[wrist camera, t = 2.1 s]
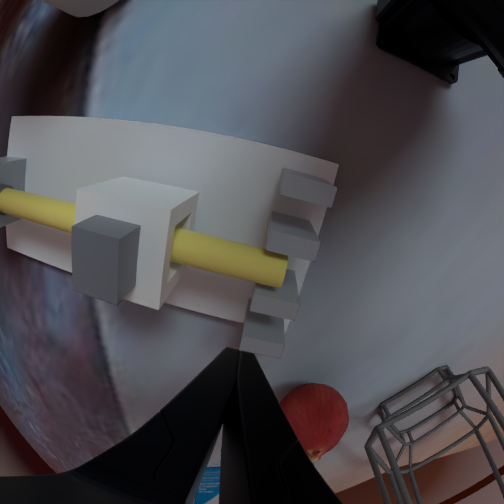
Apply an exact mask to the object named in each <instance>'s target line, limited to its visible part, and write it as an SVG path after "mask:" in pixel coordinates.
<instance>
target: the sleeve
mask: <svg viewBox="0 0 504 504" xmlns="http://www.w3.org/2000/svg"><path fill="white" fill-rule="evenodd" d="M199 193H200V192H197V191H193V190H188V189H184V188H179V187H174V186H169V185H164V184H159V183H155V182H149V181H144V180H139V179H134V178H129V177H120V178H116V179H112V180H108V181H104V182H101V183H97V184H93V185H89V186H86V187H82V188H79V189H77V194H76V210H75V225H73V226H72V234H71V254H72V282H73V290H75V291H77V292H80V293H83V294H85V295H88V296H91V297H94V298H96V299H99V300H102V301H105V302H108V303H111V304H113V305H116V306H118V305H119V303H120V302H121V301H122V300H123V299H124V300H127V301H131V302H134V303H137V304H140V305H143V306H146V307H150V308H153V309H156V310H159V309H160V308H161V306H162V305H163V303H164V302H165V300H166V299H167V297H168V296H169V294H170V293H171V291H172V290H173V288H174V287H175V285H176V284H177V282H178V281H179V279H180V278H181V276H182V275H183V273H184V272H185V271H186V265H182V264H179V263H175V262H171V261H170V258H171V251H172V244H173V237H174V230H175V227H178V228H182V229H186V230H190V231H192V230H193V224H194V219H195V214H196V208H197V203H198V198H199Z"/></svg>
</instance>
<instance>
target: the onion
mask: <svg viewBox="0 0 504 504" xmlns="http://www.w3.org/2000/svg"><path fill="white" fill-rule="evenodd" d="M280 406H281V408H282V409H283V411H284V413H285V415H286V417H287V419H288V421H289V423H290V425H291V426H292V428H293V430H294V432H295V434H296V436H297V438H298V441H300V443H301V445H302V446H303V448H304V450H305V452H306V454H307V455H308V457H309V459H310V460H311V461H318V460H319V459H320V458H321V456H322V455H324V454H325V453H326V452H328V451H330V450H331V449H332V448H333V447H334V446H335V445H336V444H337V443H338V442H339V440H340V439H341V437H342V436H343V434H344V432H345V431H346V429H347V426H348V421H349V416H348V409H347V404H346V402H345V400H344V398H343V397H342V396H341V395H340V394H339V393H338V391H336V390H335V389H333V388H332V387H329V386H327V385H324V384H315V383H310V384H304V385H302V386H300V387H297V388H296V389H294V390H292V391H291V392H290V393H288V394H287V395H286V396H285V397H284V398H283V399H282V401H281V402H280Z"/></svg>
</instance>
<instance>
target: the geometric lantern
mask: <svg viewBox="0 0 504 504" xmlns="http://www.w3.org/2000/svg"><path fill="white" fill-rule="evenodd" d="M445 369H446V371H447V373H448V375H449V377H446V376H445V375H444V373H443V372H442V370H445ZM437 372H438V373H439V374H440V375H441V377H442V378H443V381H442V382H441V383H439V384H438V385H436V386H435V387H434V388H432V389H431V390H429V391H428V392H426V393H425V394H423V395H422V396H420V397H419V398H417V399H416V400H414V401H412V402H411V403H409V404H408V405H406V406H404V407H403V408H401V409H399V410H398V411H396V412H394V413H393V414H391V415H390V413H389V411H388V409H387V407H386V404H387V403H389V402H391V401H393V400H394V399H396V398H398V397H400V396H401V395H403V394H405V393H406V392H408V391H409V390H411V389H413V388H414V387H416V386H417V385H419V384H420V383H422V382H424V381H425V380H427V379H428V378H430V377H431V376H433V375H434V374H435V373H437ZM483 373H485V376H486V390H485V389H484V387H483V386H482V385H481V383H480V382H479V381H478V379H477V378H476V376H475V375H478V374H483ZM468 378H469V379H470V380H471V382H472V383H473V385H474V386H475V388H476V389H477V390H478V392H479V393H480V395H481V396H482V398H483V399H484V401H485V402H486V404H487V412H484V411H482V410H479V409H476V408H473V407H470V406H467V405H466V403H465V401H464V398H463V396H462V393H461V390H460V388H459V384H460V383H462V382H463V381H465V380H466V379H468ZM448 381H451V384H449V385H448V386H446V387H445V388H443V389H442V390H440V391H438V392H437V393H435V394H434V395H432V396H430V397H429V398H427V399H425V400H424V401H422V402H420V403H418V404H417V405H415V406H413V405H414V404H416V403H417V402H419V401H420V400H422V399H423V398H425V397H426V396H428V395H429V394H431V393H432V392H434V391H435V390H437V389H438V388H440V387H441V386H442V385H444V384H445V383H447V382H448ZM491 381H492V383H493V384H494V386H495V387H496V389H497V391H498V392H499V394H500V396H501V397H502V399H503V401H504V389H503V387H502V386H501V384H500V382H499V381H498V379H497V378H496V376H495V375H494V373H493V372H492V370H491V369H490V368H489V367H482V368H478V369H474V370H470V371H468V372H467V373H465V374H460V375H455V376H454V375H453V373H452V372H451V370H450V368H449V367H448V366H447V365H446V366H443V367H439V368H436V369H435V370H434V371H432V372H431V373H429V374H428V375H426V376H425V377H424V378H422V379H420V380H419V381H417V382H416V383H414V384H413V385H411V386H410V387H408V388H406V389H405V390H403V391H401V392H400V393H398V394H396V395H395V396H393V397H391V398H390V399H388V400H386V401H384V402H383V403H381V404H380V408H379V411H378V413H379V414H380V416H381V419H382V422H381V423H380V424H379V425H377V426H375V428H374V429H373V431H372V433H371V435H370V436H369V438H368V440H367V442H366V444H365V446H364V448H365V450H366V453H367V456H368V458H369V461H370V464H371V467H372V469H373V472H374V475H375V478H376V481H377V484H378V487H379V490H380V493H381V496H382V499H383V502H384V504H391V501H390V498H389V495H388V492H387V490H386V487H385V484H384V481H383V478H382V475H381V473H380V470H379V467H378V464H379V465H380V466H381V467H382V468H383V469H384V471H385V472H386V473H387V474H388V477H389V480H390V483H391V486H392V488H393V491H394V494H395V497H396V500H397V503H398V504H403V501H404V504H413V503H412V501H411V498H410V495H409V493H408V491H407V488H406V485H405V482H404V480H403V477H402V475H401V474H403V473H408V474H409V478H410V481H411V484H412V488H413V491H414V495H415V498H416V502H417V504H422V501H421V498H420V495H419V491H418V488H417V485H416V482H415V478H414V475H413V472H412V471H413V470H415V469H417V468H419V467H420V466H422V465H424V464H426V463H428V462H430V461H431V460H433V459H435V458H437V457H438V456H440V455H442V454H443V453H445V452H447V451H448V450H450V449H451V448H453V447H455V446H456V445H458V444H459V443H461V442H462V441H464V440H465V439H467V438H468V437H470V436H471V435H472V434H474V433H475V434H476V436H477V438H478V440H479V442H480V444H481V446H482V448H483V450H484V453H485V455H486V457H487V459H488V461H489V464H490V466H491V468H492V470H493V473H494V475H495V478H496V480H497V482H498V485H499V487H500V490H501V493H502V495H503V498H504V484H503V481H502V479H501V476H500V474H499V472H498V469H497V467H496V465H495V463H494V461H493V458H492V456H491V454H490V452H489V450H488V448H487V446H486V444H485V442H484V440H483V438H482V436H481V434H480V432H479V430H478V429H479V428H480V427H481V426H482V425H483V424H484V423H485V422H486V421H487V420H488V419H489V421H490V423H491V425H492V427H493V429H494V431H495V433H496V435H497V437H498V439H499V442H500V444H501V446H502V448H503V450H504V439H503V436H502V434H501V432H500V430H499V428H498V426H497V424H496V422H495V420H494V418H493V416H492V414H491V412H492V413H493V415H494V416H495V418H496V419H497V421H498V423H499V424H500V426H501V428H502V429H503V431H504V417H503V416H502V414H501V412H500V411H499V409H498V408H497V406H496V405H495V403H494V402H493V400H492V399H491ZM453 388H454V391H455V394H456V397H455V399H454V400H453V402H451V403H450V404H449V405H447V406H446V407H444V408H443V409H441V410H439V411H438V412H436V413H435V414H433V415H432V416H430V417H428V418H427V419H425V420H424V421H422V422H420V423H418V424H417V425H415V426H413V427H412V428H410V429H408V430H404V431H398V429H397V428H396V427H395V426H394V425H393V423H395V422H397V421H399V420H401V419H403V418H405V417H407V416H408V415H410V414H412V413H414V412H416V411H417V410H419V409H421V408H423V407H424V406H426V405H428V404H429V403H431V402H433V401H434V400H436V399H438V398H439V397H441V396H442V395H444V394H446V393H447V392H449V391H450V390H452V389H453ZM457 399H459V400H460V402H461V403H462V405H463V406H462V407H461V408H459V406H458V404H457V402H456V400H457ZM453 404H454V405H455V407H456V409H457V412H456V413H455V414H453V415H452V416H451V417H449V418H448V419H447V420H445V421H444V422H442V423H441V424H439V425H438V426H437V427H435V428H434V429H432V430H431V431H429V432H428V433H426V434H424V435H423V436H421V437H420V438H418V439H416V440H415V441H413V438H412V435H411V433H410V431H412V430H413V429H415V428H417V427H419V426H420V425H422V424H424V423H425V422H427V421H429V420H430V419H432V418H434V417H435V416H437V415H438V414H440V413H441V412H443V411H444V410H446V409H447V408H449V407H450V406H452V405H453ZM411 406H413V407H411ZM409 407H411V408H410V409H408V408H409ZM464 408H466V409H468V410H471V411H474V412H477V413H480V414H483V415H486V416H485V417H484V418H483V420H482V421H481V422H480V423H479V424H478V425H477V426H475V425H474V424H473V422H472V421H471V420H470V419H469V418H468V417H467V416H466V414H465V413H464V412H463V411H462V410H463V409H464ZM382 409H384V411H385V413H386V415H387V417H386V415H385V414H384V413H383V411H382ZM406 409H408V410H406ZM404 410H406V411H404ZM403 411H404V412H403ZM401 412H402V413H401ZM399 413H400V414H399ZM459 413H460V414H461V415H462V416H463V417H464V418H465V419H466V420H467V422H468V423H469V424H470V425H471V426H472V427H473V430H472V431H470V432H469V433H467V434H466V435H464V436H463V437H462V438H460V439H459V440H457V441H455V442H454V443H452V444H451V445H449V446H448V447H446V448H444V449H443V450H441V451H439V452H438V453H436V454H434V455H433V456H431V457H429V458H427V459H426V460H424V461H422V462H420V463H418V464H417V465H414V466H412V445H413V444H415V443H417V442H418V441H420V440H422V439H423V438H425V437H426V436H428V435H429V434H431V433H432V432H434V431H435V430H437V429H438V428H440V427H441V426H443V425H444V424H446V423H447V422H448V421H450V420H451V419H453V418H454V417H455V416H457V415H458V414H459ZM398 414H399V415H398ZM396 415H397V416H396ZM394 416H395V417H394ZM389 425H390V426H391V427H392V428H391V427H390V426H389ZM385 427H386V428H387V429H388V430H389V431H390V432H391V433H392V434H393V435H394V436H395V437H396V438H397V439H398V440H399V441H400V442H401V443H402V444H403V445H402V448H401V450H400V452H399V454H398V456H397V458H396V460H395V457H394V455H393V452H392V450H391V447H390V445H389V442H388V440H387V438H386V435H385V433H384V431H383V429H384V428H385ZM403 433H407V434H408V436H409V439H410V442H408V443H406V442H405V439H404V436H403ZM398 434H400V436H399V435H398ZM378 436H379V438H380V440H381V443H382V446H383V448H384V451H385V453H386V456H387V458H388V461H389V463H390V466H391V469H389V468H388V466H387V465H386V464H385V463H384V461H383V460H382V459H381V458H380V456H379V455H378V454H377V453H376V452H375V450H374V449H373V448H372V447H371V446H372V444H373V443H374V442H375V440H376V439H377V438H378ZM407 445H409V469H404V470H399V467H398V464H397V462H398V460H399V458H400V456H401V454H402V452H403V450H404V448H405V446H407ZM376 461H377V462H376ZM377 463H378V464H377ZM393 475H394V476H395V479H396V482H397V485H398V487H399V490H400V493H401V495H402V498H403V501H402V498H401V496H400V493H399V490H398V488H397V485H396V482H395V480H394V477H393Z"/></svg>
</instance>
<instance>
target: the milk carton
mask: <svg viewBox="0 0 504 504" xmlns="http://www.w3.org/2000/svg"><path fill="white" fill-rule="evenodd" d="M219 486H220V467H216V468H206V470H205V472H204V475H203V478H202V480H201V483H200V485H199V488H198V490H197V493H196V496H195V501H194V504H219Z"/></svg>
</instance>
